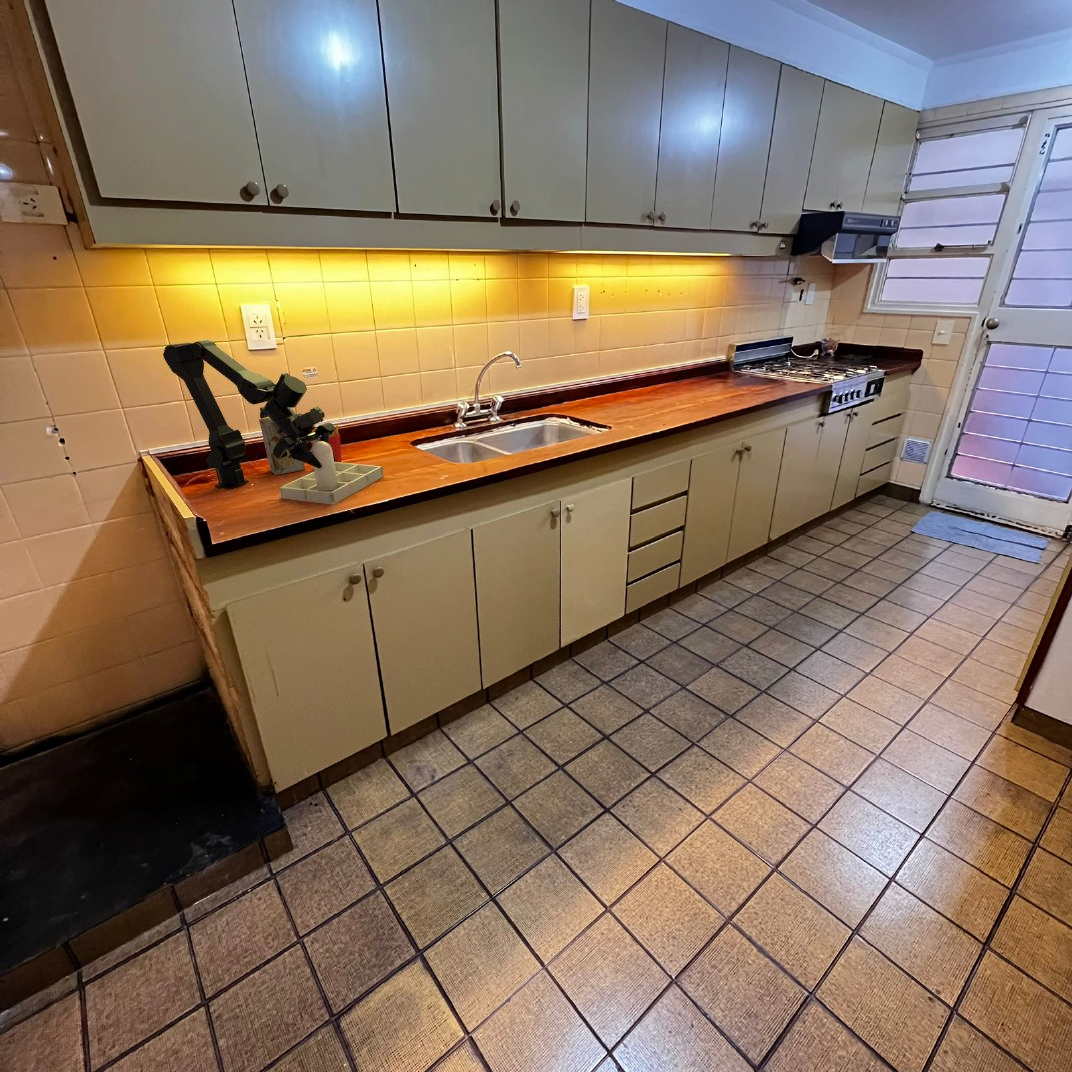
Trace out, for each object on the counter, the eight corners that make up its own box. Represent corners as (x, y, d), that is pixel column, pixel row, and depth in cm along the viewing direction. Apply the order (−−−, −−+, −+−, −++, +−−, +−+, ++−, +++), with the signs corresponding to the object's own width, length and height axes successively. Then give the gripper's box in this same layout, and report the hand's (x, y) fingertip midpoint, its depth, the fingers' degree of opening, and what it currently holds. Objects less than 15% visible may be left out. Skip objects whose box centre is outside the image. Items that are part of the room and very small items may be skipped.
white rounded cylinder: (315, 491, 148) (307, 444, 143) (319, 484, 153) (311, 439, 148) (336, 490, 149) (328, 443, 144) (339, 484, 154) (332, 438, 148)
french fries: (342, 462, 182) (335, 422, 176) (345, 465, 178) (339, 424, 173) (312, 467, 177) (305, 426, 172) (315, 470, 174) (308, 428, 169)
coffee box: (300, 465, 180) (290, 414, 173) (305, 469, 175) (296, 418, 168) (269, 470, 175) (258, 418, 168) (274, 475, 170) (263, 422, 163)
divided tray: (281, 498, 152) (279, 487, 151) (336, 471, 173) (335, 461, 171) (333, 504, 147) (331, 493, 146) (383, 476, 168) (382, 466, 167)
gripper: (272, 405, 135) (318, 454, 136) (324, 392, 151) (364, 436, 152) (253, 435, 140) (297, 482, 141) (305, 419, 156) (344, 461, 157)
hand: (328, 464), depth 148 cm, fingers closed on white rounded cylinder, 5 cm apart
